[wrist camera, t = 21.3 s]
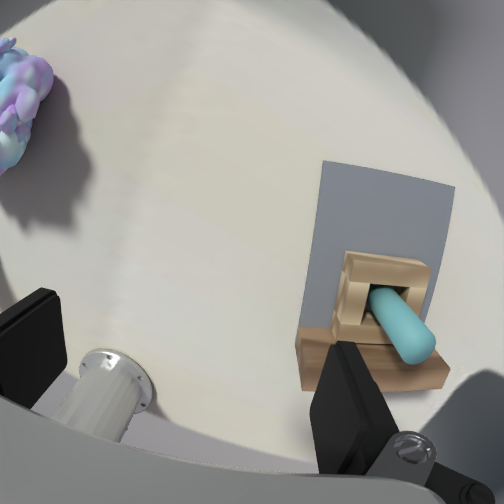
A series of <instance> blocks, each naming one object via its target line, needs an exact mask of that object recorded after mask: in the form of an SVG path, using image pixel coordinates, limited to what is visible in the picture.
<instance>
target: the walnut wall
mask: <svg viewBox="0 0 504 504" xmlns="http://www.w3.org/2000/svg"><path fill="white" fill-rule="evenodd" d="M335 343H336V340H335V337H334V334H333V332H332V329H331V328H319V327H306V326H299V328H298V334H297V339H296V344H295V348H296V354H297V361H298V367H299V374H300V380H301V387H302V391H316V388H317V385H318V382H319V379H320V376H321V373H322V369H323V366H324V363H325V360H326V356H327V353H328V350H329V347H330V345H331V344H335ZM356 345H357V347H358V349H359V351H360V353H361V355H362V357H363V359H364V361H365V363H366V365H367V368H368V370H369V372H370V374H371V376H372V378H373V380H374V381H375V382H376V383H377V385H378V387H379V389H380V391H381V392H396V391H416V390H431V389H442V387H443V385H444V383H445V380H446V378H447V376H448V374H449V371H450V367H449V366H448V365H447V364H446V362H445V361H444V360H443V359H442V357H441V356H440V355H439V354H438V352H437V351H436V350H435V349H434V350H433V352H432V354H431V355H430V356H429V357H428V358H427V359H426V360H424V361H423V362H421V363H418V364H413V365H412V364H407V363H405V362H404V361H403V359H402V358H401V356H400V354H399V353H398V351H397V350H396V348H395V346H394V345H393V344H371V343H356Z"/></svg>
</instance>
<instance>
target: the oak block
mask: <svg viewBox="0 0 504 504" xmlns="http://www.w3.org/2000/svg"><path fill="white" fill-rule="evenodd" d="M431 270H432V269H431V268H429V267H428V266H427V265H425V264H424V263H422V262H421V261H419V260H418V259H410V258H402V257H394V256H386V255H377V254H369V253H361V252H352V251H345V256H344V262H343V267H342V273H341V278H340V283H339V288H338V293H337V298H336V302H335V307H334V312H333V316H332V321H331V325H330V327H331V329H332V332H333V334H334V337H335V340H336V342H337V341H338V340H339V341H351V342H355V343H371V344H393V343H392V342H391V340H390V338H389V337H388V335H387V334H386V332H385V331H384V329H383V328H382V326H381V324H380V323H379V321H378V320H377V318H376V317H375V315H374V314H373V312H364V308H365V304H366V299H367V295H368V291H369V287H370V284H381V285H392V286H395V289H394V291H395V292H396V293H397V294H398V295H399V296H400V297H401V298H402V299H403V301H404V302H405V303H406V304H407V305H408V306H409V307H410V308H411V309H412V311H413V312H414V313H415V314H416V315H417V316H418V317H419V314H420V311H421V308H422V304H423V301H424V297H425V294H426V290H427V286H428V282H429V278H430V274H431Z"/></svg>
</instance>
